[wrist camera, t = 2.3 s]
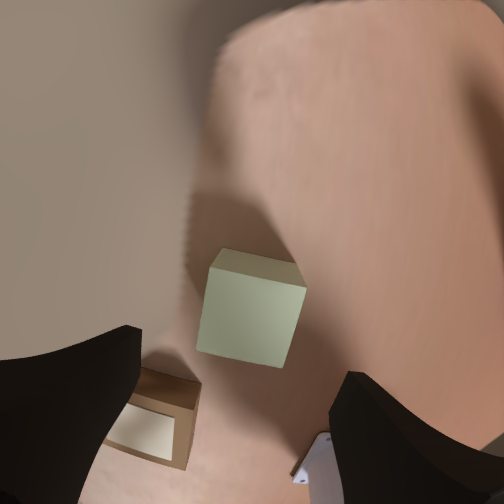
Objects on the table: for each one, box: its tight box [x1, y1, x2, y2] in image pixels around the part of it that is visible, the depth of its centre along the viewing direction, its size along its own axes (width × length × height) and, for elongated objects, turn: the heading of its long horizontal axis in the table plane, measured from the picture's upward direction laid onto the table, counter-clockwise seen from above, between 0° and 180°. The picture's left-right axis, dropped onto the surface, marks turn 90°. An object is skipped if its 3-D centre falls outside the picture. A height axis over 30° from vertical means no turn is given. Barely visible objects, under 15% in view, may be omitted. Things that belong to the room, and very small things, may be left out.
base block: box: [102, 367, 202, 471], centre depth 19 cm, size 8×8×3 cm
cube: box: [196, 248, 307, 368], centre depth 16 cm, size 4×4×4 cm
